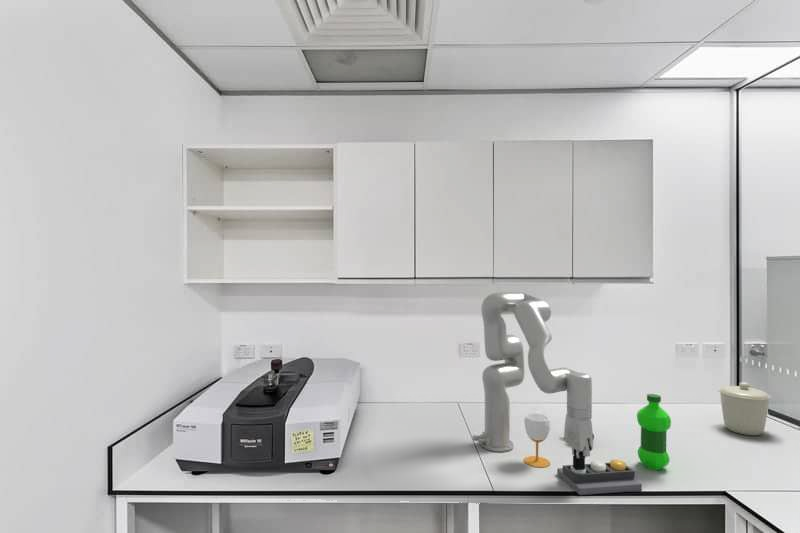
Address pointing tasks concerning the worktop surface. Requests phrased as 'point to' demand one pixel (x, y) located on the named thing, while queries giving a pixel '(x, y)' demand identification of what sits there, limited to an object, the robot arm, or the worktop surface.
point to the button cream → (598, 466)
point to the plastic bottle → (653, 434)
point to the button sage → (577, 471)
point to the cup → (537, 436)
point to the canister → (744, 409)
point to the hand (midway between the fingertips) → (578, 468)
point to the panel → (600, 480)
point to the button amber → (618, 465)
